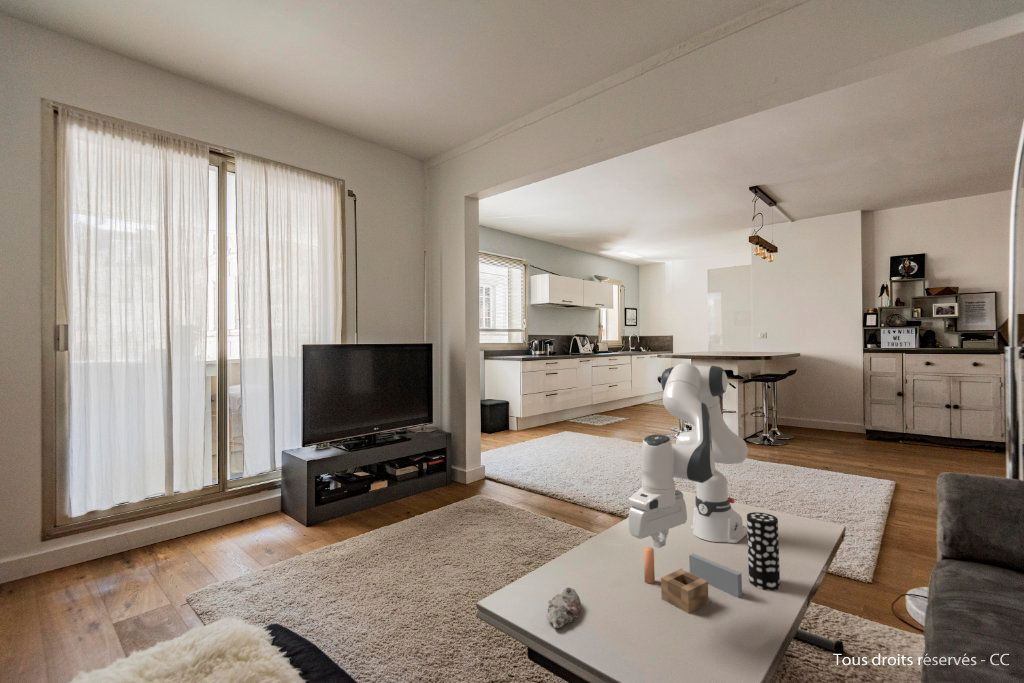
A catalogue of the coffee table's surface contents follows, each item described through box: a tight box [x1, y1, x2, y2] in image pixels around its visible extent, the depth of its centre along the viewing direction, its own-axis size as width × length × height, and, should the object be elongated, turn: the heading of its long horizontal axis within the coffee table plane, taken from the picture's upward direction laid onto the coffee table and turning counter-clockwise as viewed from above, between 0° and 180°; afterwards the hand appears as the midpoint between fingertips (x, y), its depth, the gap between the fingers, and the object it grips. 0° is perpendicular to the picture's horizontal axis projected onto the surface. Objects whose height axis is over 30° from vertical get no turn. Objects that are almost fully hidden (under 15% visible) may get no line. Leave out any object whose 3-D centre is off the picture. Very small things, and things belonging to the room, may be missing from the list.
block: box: [660, 568, 710, 614], centre depth 131 cm, size 9×9×6 cm
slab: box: [688, 552, 743, 599], centre depth 139 cm, size 2×16×6 cm, turn 33°
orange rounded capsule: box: [643, 546, 656, 585], centre depth 142 cm, size 3×3×10 cm
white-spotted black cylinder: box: [746, 511, 781, 591], centre depth 140 cm, size 8×8×20 cm
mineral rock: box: [545, 587, 582, 629], centre depth 125 cm, size 15×8×4 cm, turn 140°
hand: (659, 546), depth 126 cm, fingers closed
